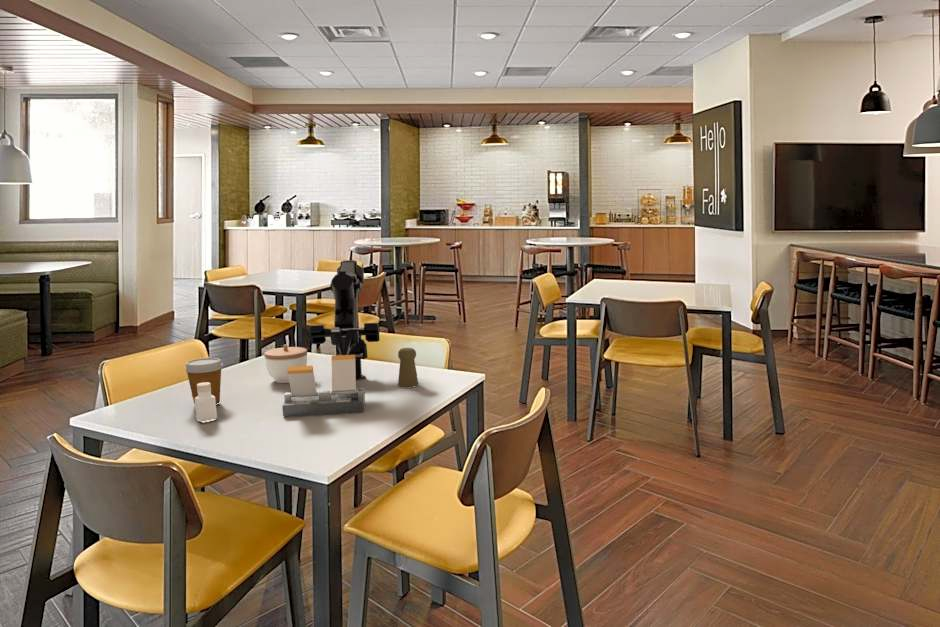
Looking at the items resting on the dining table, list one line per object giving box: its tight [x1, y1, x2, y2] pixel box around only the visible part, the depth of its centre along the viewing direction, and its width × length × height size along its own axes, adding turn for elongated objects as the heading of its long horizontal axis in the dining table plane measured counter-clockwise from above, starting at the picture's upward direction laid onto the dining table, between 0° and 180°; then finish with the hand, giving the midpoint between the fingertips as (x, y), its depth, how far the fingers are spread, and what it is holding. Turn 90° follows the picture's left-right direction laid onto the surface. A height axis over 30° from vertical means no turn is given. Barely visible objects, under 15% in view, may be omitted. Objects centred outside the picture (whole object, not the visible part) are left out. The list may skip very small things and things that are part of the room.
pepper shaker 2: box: [194, 382, 218, 421], centre depth 166 cm, size 4×4×10 cm
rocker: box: [330, 354, 358, 395], centre depth 174 cm, size 1×7×10 cm, turn 96°
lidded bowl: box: [264, 344, 308, 384], centre depth 204 cm, size 13×13×11 cm
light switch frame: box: [282, 388, 366, 417], centre depth 173 cm, size 9×20×5 cm, turn 96°
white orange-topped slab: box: [287, 365, 319, 397], centre depth 169 cm, size 1×7×10 cm
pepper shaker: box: [397, 347, 419, 388], centre depth 195 cm, size 6×6×11 cm
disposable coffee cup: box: [184, 357, 224, 405], centre depth 180 cm, size 10×10×12 cm
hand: (344, 359), depth 178 cm, fingers closed
